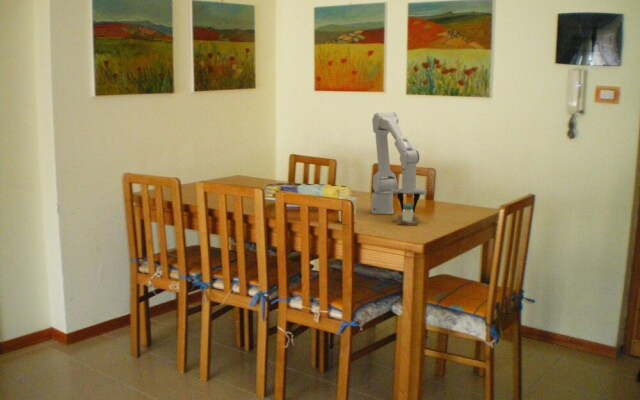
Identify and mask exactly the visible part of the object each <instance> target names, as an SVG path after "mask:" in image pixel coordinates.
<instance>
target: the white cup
mask: <svg viewBox="0 0 640 400" xmlns="http://www.w3.org/2000/svg"><path fill="white" fill-rule="evenodd" d="M338 198H340V199H348V200H351V201H352V202H353V204H354V214H355V217H356V216H357V204H358V203H357V202H358V201H357V200H358V198H357V197H356V196H355V197H354V196H339V197H338ZM337 212H338V222H339V221H340V222H339V223H341V211H337Z"/></svg>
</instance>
